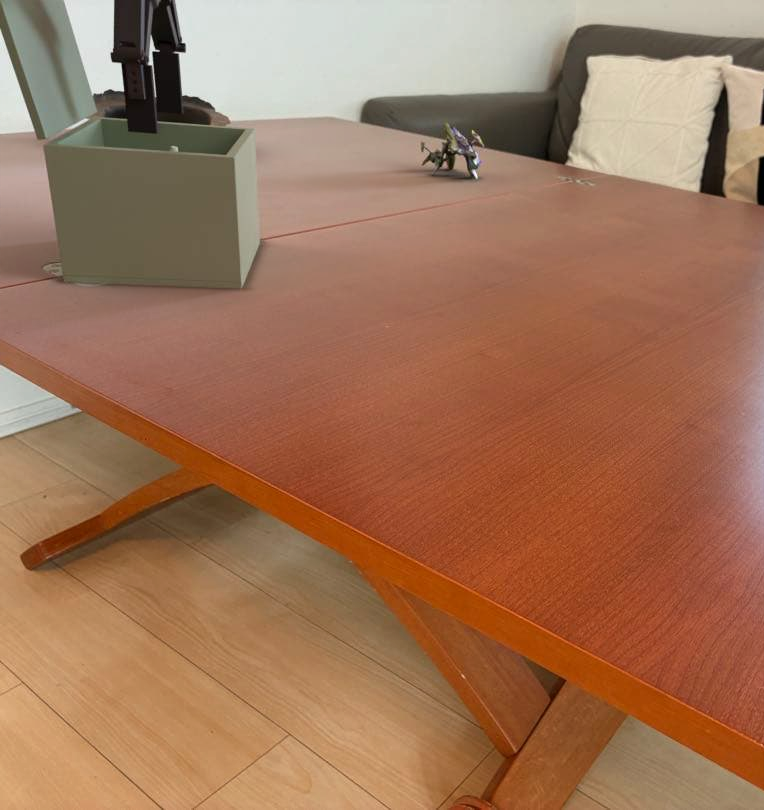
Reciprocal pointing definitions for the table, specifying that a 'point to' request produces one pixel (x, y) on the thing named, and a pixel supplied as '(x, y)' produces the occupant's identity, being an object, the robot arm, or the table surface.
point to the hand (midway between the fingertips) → (157, 122)
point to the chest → (155, 204)
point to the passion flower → (455, 151)
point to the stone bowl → (193, 112)
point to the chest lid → (46, 64)
